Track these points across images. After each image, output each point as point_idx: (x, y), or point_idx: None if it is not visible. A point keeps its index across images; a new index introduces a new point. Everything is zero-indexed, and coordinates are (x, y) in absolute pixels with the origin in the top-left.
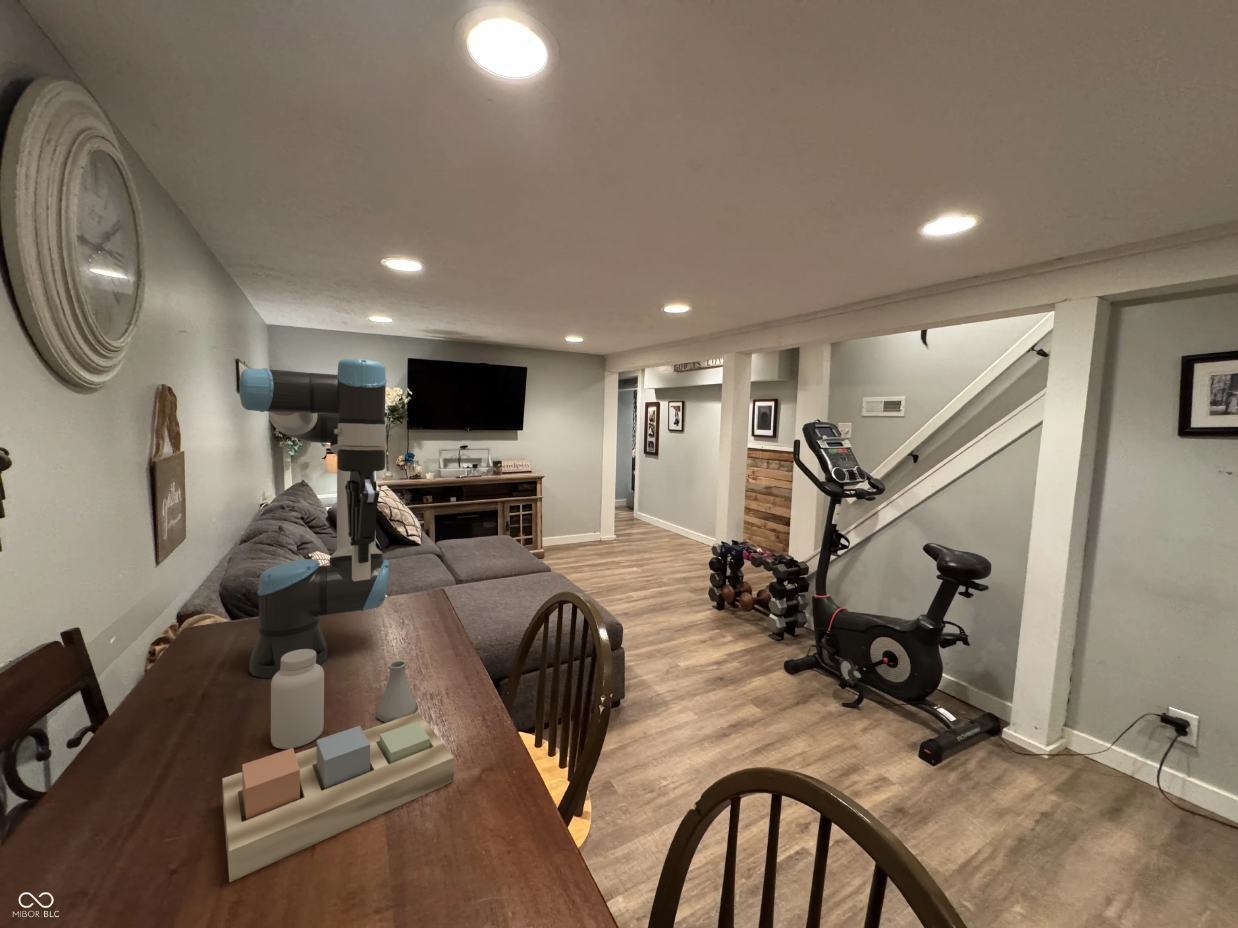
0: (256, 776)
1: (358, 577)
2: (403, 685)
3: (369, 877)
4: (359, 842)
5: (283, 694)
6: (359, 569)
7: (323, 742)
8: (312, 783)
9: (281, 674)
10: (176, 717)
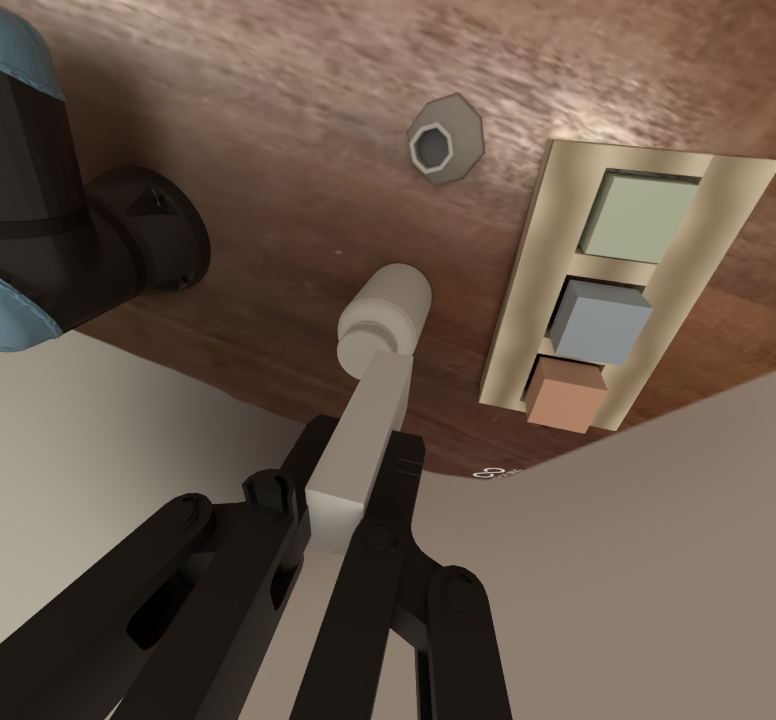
0: (570, 421)
1: (405, 404)
2: (457, 137)
3: (764, 333)
4: (696, 318)
5: None
6: (398, 426)
7: (571, 350)
8: None
9: None
10: (266, 369)
